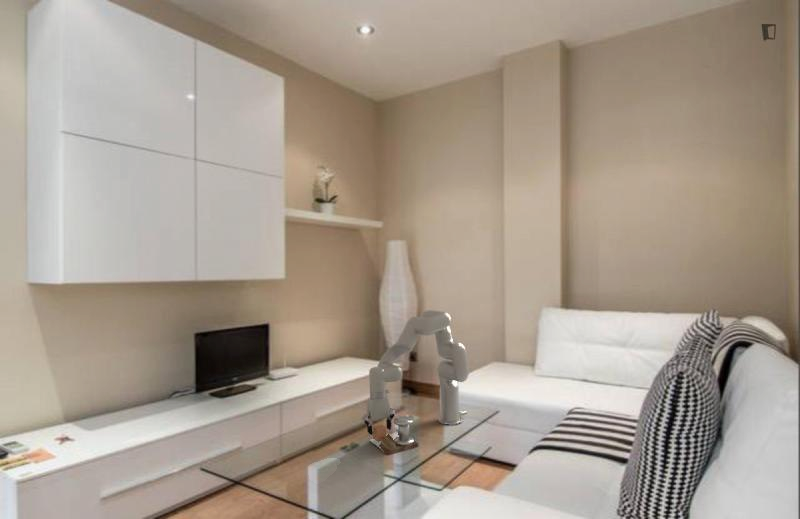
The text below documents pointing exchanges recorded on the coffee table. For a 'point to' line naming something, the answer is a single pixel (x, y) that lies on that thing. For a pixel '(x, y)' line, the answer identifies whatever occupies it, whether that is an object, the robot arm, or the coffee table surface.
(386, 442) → the winding board
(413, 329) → the robot arm
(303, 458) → the coffee table surface
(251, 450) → the coffee table surface
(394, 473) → the coffee table surface
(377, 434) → the orange brown block
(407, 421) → the bobbin
